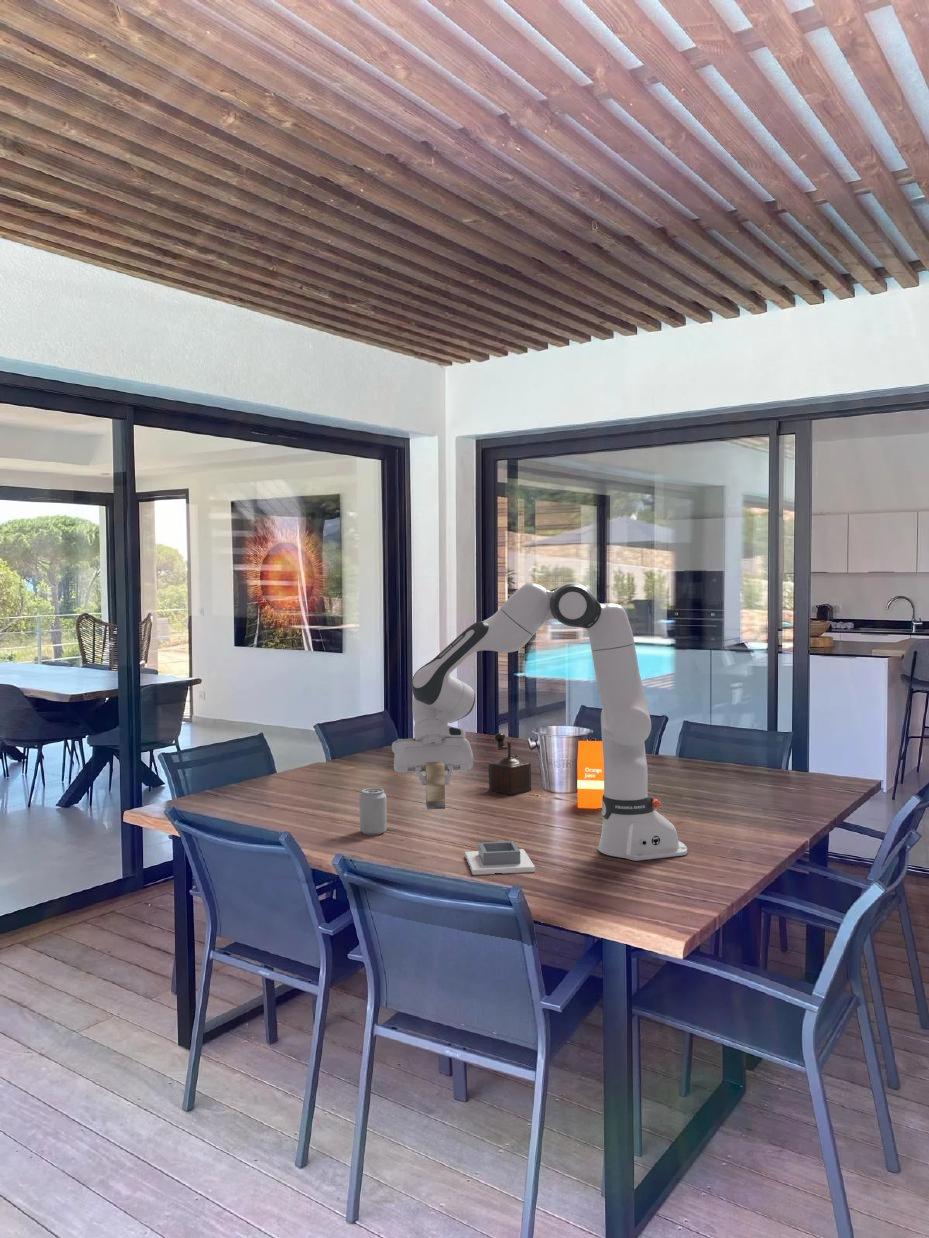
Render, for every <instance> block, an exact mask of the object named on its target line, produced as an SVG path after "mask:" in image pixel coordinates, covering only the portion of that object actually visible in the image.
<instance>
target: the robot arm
mask: <svg viewBox="0 0 929 1238" xmlns="http://www.w3.org/2000/svg"><path fill="white" fill-rule="evenodd" d="M550 620H557V621H558V622H559V623H561V624H562V625H564V626H567V627H572V628H573V627H574V628H581V629H585V630H586V632H587V634H588V637H589V643H590V648H591V655H592V661H593V668H594V672H595V679H596V683H597V687H598V691H599V695H600V699H601V701H600V702H601V704H602V710H601V713H600V727H601V741H602V749H603V761H604V794H603V796H602V809H601V814H602V827H601V833H600V834H601V836H600V840H599V843H598V846H597V850H598V852H600V853H602V854H604V855H607V856H611V857H617V858H623V859H627V860H631V861H636V862H637V861H645V860H654V859H663V858H664V859H665V858H671V857H678V856H679V857H680V856H686V855H687V854H688V847H687V845H686V844H684V842H682V841H680V840H679V836H678V832H677V829H676V827H675V826H674V824H673V823H671V821H669V820H668V819H667V818H666V817H664V816H663V815H662V814H661V813H659V812H658V811H657V810H656V809H659V808H660V807H662V806H661V805H662V801H660V800H659V799H657V798H655V797H652V796H650V795H648V762H647V754H646V753H647V752H646V745H645V741H646V740H647V739H648V738H649V737H650V735H651V732H652V721H651V714H650V711H649V706H648V701H647V697H646V694H645V692H646V691H645V690H644V685H643V682H642V678H641V673H640V668H639V667H640V666H639V663H638V656H637V655H638V654H637V650H636V644H635V639H634V633H633V630H632V626H631V622H630V620H629V617H628V614H627V612H626V610H625V608H624V607H623V606H622V605H620V604H617V603H615V602H613V603H612V602H606V603H600V602H599V601H598V600H597V599H596V597H595V596H594V595H593V593H592V592H591V590H590V589H589V588H588V587H587V586H586V585H584V584H581V583H579V582H571V581H570V582H567V583H564V584H562V585H560V586H558V587H555V588H553V589H550V590H549V589H547V588H545V587H544V586H543V585H541V584H539V583H535V582H527V583H525V584H523V585H522V586H521V587H520V588H519V589H517V590H516V591H515V592H513V594H512V595H511V596H510V597H509V598H508V599H507V600H506V601H505V602H504V603H503V604H502V606H501V607H500V608H499V609H498V610H497V611H496V612H495V613H494V614H493V615H491V616H489V617H488V618H487V619H484V620H483V621H482V620H481V621H476V622H474V623H473V624H471V625H470V626H468V627H467V628H466V629H465V630H464V631H462V633H460V634H459V635H458V636H457V637H456V638H455V639H453V640H452V641H451V643H449V644H448V645H447V646H446V647H445V648H444V649H443V650H442V651H440V653H439V654H437V655H436V656H435V657H434V658H433V659H431V660H430V661H428V662H427V663H426V664H424V665H422V666H421V667H420V668H419V669H417V670H416V672H415V673H414V674H413V676H412V679H411V691H412V696H413V697H412V718H413V721H414V727H413V735H414V738H398V739H397V740H394V741H393V742H392V743H391V751H392V753H393V754H394V756H393V757H394V758H393V769H394V771H395V772H396V773H415V776H416V778H417V779H418V780H419V782H420V786H426V785H427V780H426V775H425V776H424V775H423V774H422V773H423V772H425V773H426V762H443V763H444V765H445V772H446V775H445V785H448V786H449V785H450V784H451V777H452V776H453V773H454V772H455V771H470V770H471V769H472V768H473V767H474V754H473V750H472V747H471V744H470V742H469V740H468V739H467V738H466V737H467V736H466V734H467V733H466V731H465V730H464V729H462V728H458V727H454V726H451V725H448V724H450V723H451V724H452V723H455V722H457V721H459V720H462V719H463V718H465V717H467V716H468V715H470V714H471V712H472V711H473V709H474V707H475V703H476V693H475V689H473V687H472V686H470V685H469V684H467V683H466V682H464V681H463V680H460V679H459V678H457V677H455V676H454V675H452V674H451V673H453V671H454V670H455V669H456V668H458V667H459V666H460V665H461V664H462V663H463V662H464V661H465V660H466V659H467V658H468V657H469V656H471V655H473V654H474V653H477V652H481V651H492V652H497V653H513V652H517V651H520V650H521V649H522V648H523V647H524V646H525V645H527V643H528V642H529V641H530V640H531V639H532V638H533V636H534V635H535V634H536V633H537V632H538V630H539V629H540V628H541V626H542V625H544V624H545V623H546V622H548V621H550Z"/></svg>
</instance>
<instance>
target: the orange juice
mask: <svg viewBox="0 0 929 1238" xmlns="http://www.w3.org/2000/svg"><path fill="white" fill-rule="evenodd" d="M577 745H578V746H577V747H578V748H577V761H576V762H577V775H576V776H577V779H576V780H577V787H576V788H577V808H578V809H597V808H602V796H603V794H604V761H603V749H602V740H597V741H596V740H578V744H577Z"/></svg>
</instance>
